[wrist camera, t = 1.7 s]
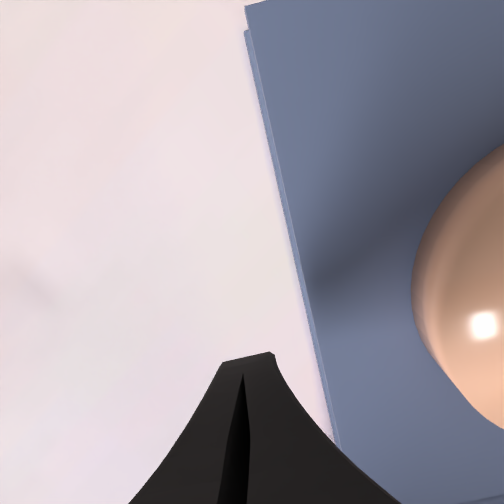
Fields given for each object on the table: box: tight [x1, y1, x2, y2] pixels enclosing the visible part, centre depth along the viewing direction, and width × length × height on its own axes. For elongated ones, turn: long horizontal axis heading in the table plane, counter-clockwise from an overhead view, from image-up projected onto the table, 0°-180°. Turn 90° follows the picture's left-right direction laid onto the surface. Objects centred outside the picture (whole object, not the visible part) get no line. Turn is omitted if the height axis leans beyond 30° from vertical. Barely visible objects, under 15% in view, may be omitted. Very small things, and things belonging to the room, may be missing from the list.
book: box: [244, 0, 504, 504], centre depth 13 cm, size 18×13×3 cm
